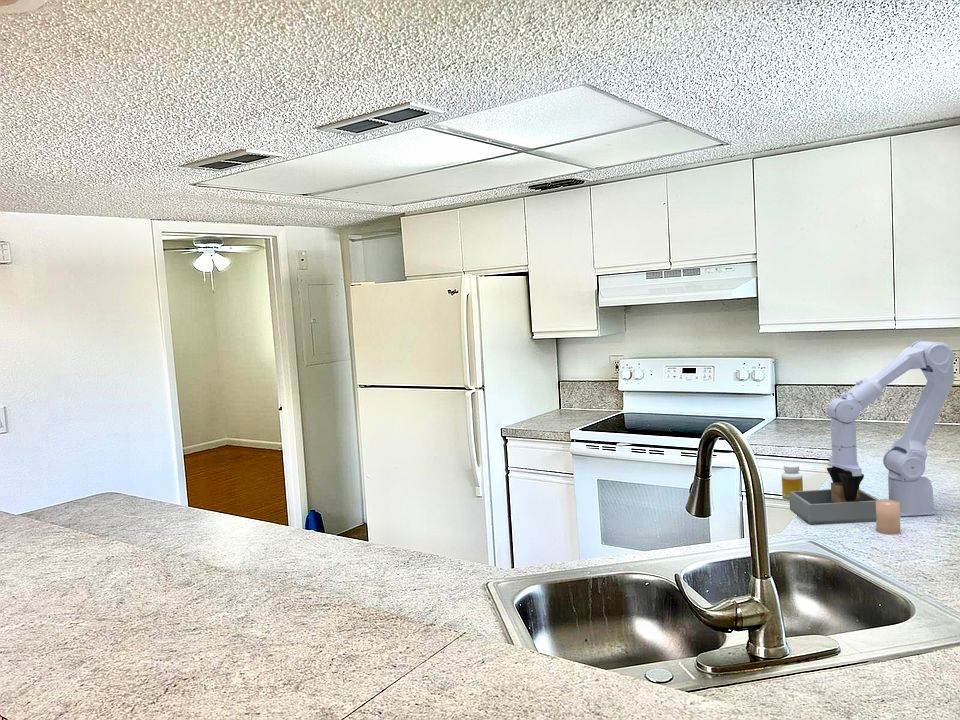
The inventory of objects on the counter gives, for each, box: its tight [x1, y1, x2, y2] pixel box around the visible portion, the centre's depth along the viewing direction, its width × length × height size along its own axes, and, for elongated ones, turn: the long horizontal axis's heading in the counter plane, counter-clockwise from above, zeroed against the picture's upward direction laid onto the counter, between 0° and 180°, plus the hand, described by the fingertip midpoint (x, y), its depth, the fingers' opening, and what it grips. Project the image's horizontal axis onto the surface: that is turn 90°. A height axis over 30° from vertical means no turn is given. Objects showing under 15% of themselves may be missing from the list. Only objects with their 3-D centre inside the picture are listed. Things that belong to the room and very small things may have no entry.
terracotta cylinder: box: [875, 498, 901, 535], centre depth 179 cm, size 5×5×7 cm
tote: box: [789, 488, 880, 526], centre depth 193 cm, size 18×14×5 cm
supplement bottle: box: [781, 463, 804, 503], centre depth 210 cm, size 5×5×10 cm
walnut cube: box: [830, 481, 860, 503], centre depth 193 cm, size 5×5×5 cm
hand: (845, 497), depth 193 cm, fingers closed on walnut cube, 5 cm apart
